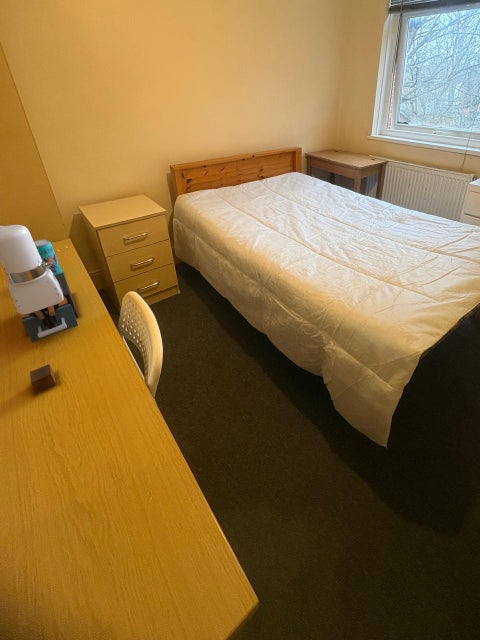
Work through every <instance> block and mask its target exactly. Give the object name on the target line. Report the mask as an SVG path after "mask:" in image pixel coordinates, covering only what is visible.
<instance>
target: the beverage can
mask: <svg viewBox="0 0 480 640" xmlns="http://www.w3.org/2000/svg"><path fill="white" fill-rule="evenodd" d="M34 243H35V245H36V248H37V250H38V252H39V255H40V257H41V259H42V261H44V262H49V261H50V263H51V266H49V267H47V268H49V269H50V270H51V271H52V273H53V274H54V275H57V274H60V273H63V270H62V268H61V266H60V265H61V264H60V262H59V260H58V257H57V255H56V253H55V250H54V246H53V244H52V242H50V240H49V239H45V238H44V239H38V240H36V241H34Z"/></svg>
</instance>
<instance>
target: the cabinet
mask: <svg viewBox="0 0 480 640" xmlns="http://www.w3.org/2000/svg"><path fill="white" fill-rule="evenodd" d="M54 276H55V277H56V279H57V281H58V283H59V285H60V287H61V289H62V292H63V295H64V297H65V296H66V297H67V299H68V302H69V304H70V305H71V307H72V310H73V312H74V315H75V318H76V319H78V318H79V313H78V311H77V306H76V303H75V301H74V297H73V293H72V292H71V289H70V286H69V284H68V281H67V279H66V275H65V273H64V272H62V273H60V274H57V275H54ZM25 318H26V317H23V318H21V320H22V319H25Z"/></svg>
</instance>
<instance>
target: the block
mask: <svg viewBox="0 0 480 640" xmlns="http://www.w3.org/2000/svg"><path fill="white" fill-rule="evenodd" d="M29 376H30V377H29V378H30V384H31V386H32V388H33V389H34V391H35V393H36V394H39V393H42V392H44V391H46V390H49V389H51V388H53V387H55V386H57V381H56V375H55V372H54V371H53V368H52V366H51V364H50V363H47V364H45V365H43V366H40V367H38V368H36V369H34V370H31V371H29Z"/></svg>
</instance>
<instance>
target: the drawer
mask: <svg viewBox="0 0 480 640" xmlns="http://www.w3.org/2000/svg"><path fill="white" fill-rule="evenodd" d="M65 298H66V299H67V297H66V296H65ZM42 310H43V311H44V312H46V313H47V314H48V307H47V308H44V309H42ZM55 316H56V318H57V320H58V322H56V327H55V328H54V327H52V329H49V328H48V326H44V324H43V322H42V320H41V319H39V318H37V317H32V316H29V317H26V318H25V319H22V318H21V323H22V325H23V327H24V329H25V331H26V333H27V335H28V337H29V339H30V341H31V343H34V342H35V343H36V342H37V341H41V340H43V339H45V338H48V337H52V336H53V335H56V334H59V333H62V332H65V331H67V330H70V329H73V328H75V327H78V326H79V322H78V320H77V318H75V315H74V312H73V310H72V307H71V305H70V304H69V302H68V299H67V303H65V304H63V305H61V306H59V307H58V309H57V310H56V312H55Z"/></svg>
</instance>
